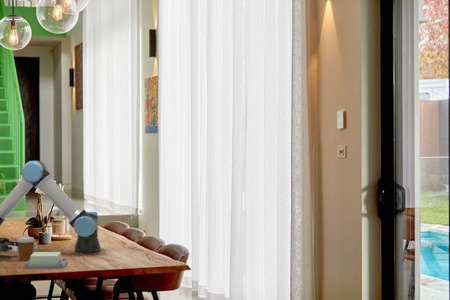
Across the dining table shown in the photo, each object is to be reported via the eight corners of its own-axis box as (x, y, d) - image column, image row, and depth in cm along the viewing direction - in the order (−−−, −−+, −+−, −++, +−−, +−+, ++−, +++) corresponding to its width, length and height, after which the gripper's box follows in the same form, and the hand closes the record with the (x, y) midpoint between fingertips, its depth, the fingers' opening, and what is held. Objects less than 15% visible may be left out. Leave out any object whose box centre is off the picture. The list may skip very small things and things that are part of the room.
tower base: (67, 262, 412) (67, 250, 412) (63, 268, 392) (63, 256, 392) (28, 262, 410) (29, 251, 409) (23, 268, 390) (23, 257, 390)
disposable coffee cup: (25, 261, 412) (25, 239, 411) (12, 260, 417) (12, 238, 416) (38, 259, 420) (38, 237, 420) (26, 257, 425) (26, 236, 425)
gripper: (18, 248, 440) (44, 251, 428) (-18, 253, 419) (8, 257, 407) (18, 235, 439) (44, 238, 428) (-18, 239, 419) (8, 243, 407)
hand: (26, 247), depth 417 cm, fingers open, 13 cm apart
